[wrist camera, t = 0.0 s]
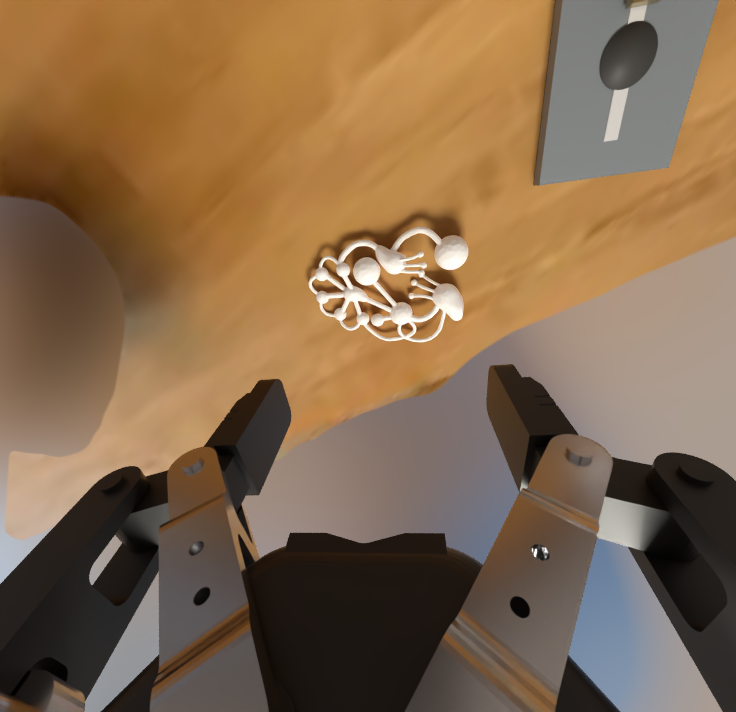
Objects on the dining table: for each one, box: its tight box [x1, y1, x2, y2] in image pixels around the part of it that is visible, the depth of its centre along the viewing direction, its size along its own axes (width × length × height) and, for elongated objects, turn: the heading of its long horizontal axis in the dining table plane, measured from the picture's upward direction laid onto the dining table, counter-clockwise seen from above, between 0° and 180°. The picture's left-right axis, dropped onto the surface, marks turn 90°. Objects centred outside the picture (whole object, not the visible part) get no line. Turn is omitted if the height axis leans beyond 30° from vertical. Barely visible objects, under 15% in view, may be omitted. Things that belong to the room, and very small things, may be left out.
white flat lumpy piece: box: [309, 226, 468, 342], centre depth 38 cm, size 19×14×4 cm
